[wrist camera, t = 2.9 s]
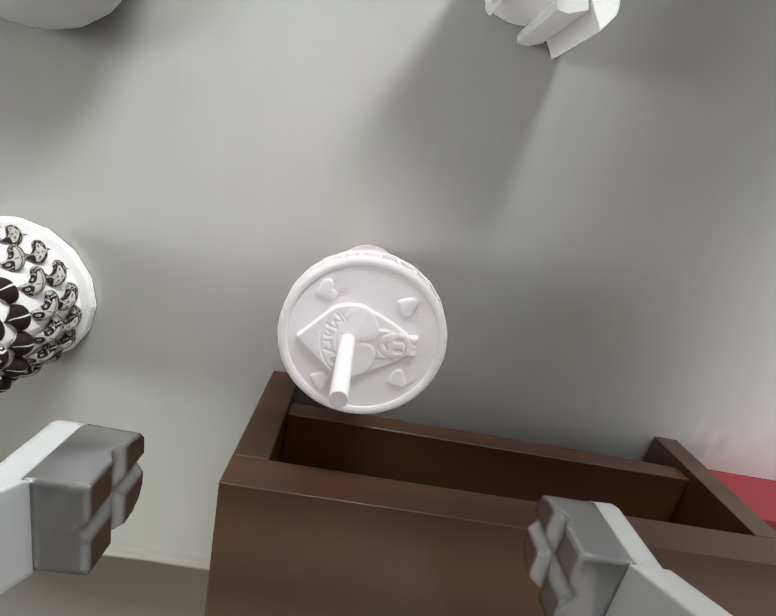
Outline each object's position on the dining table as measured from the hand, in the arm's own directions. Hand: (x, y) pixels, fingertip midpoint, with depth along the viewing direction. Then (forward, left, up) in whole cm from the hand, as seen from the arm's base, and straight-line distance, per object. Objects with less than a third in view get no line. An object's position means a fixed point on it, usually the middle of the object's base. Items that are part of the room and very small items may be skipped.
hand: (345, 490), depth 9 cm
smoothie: (0, 0, -17) cm, 17 cm away
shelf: (0, +16, -17) cm, 23 cm away
